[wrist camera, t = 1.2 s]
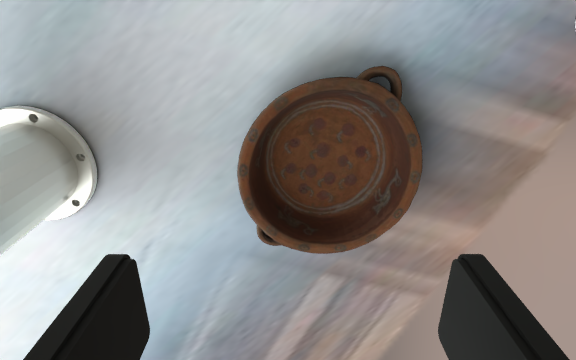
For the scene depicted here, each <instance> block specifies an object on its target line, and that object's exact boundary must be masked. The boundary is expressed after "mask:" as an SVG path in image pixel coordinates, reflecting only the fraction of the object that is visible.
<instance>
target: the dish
mask: <svg viewBox="0 0 576 360" xmlns="http://www.w3.org/2000/svg"><path fill="white" fill-rule="evenodd" d="M374 77H385V78H386V79H387V80H388V81H389V82H390V87H391V91H390V92H389V91H388V90H387V89H386V88H384V87H383V86H381V85H379V84H378V83H374V82H370V81H369V80H370V79H372V78H374ZM401 96H402V84H401V80H400V78H399V75H398V73H397V72H396V71H395V70H394V69H392V68H389V67H385V66H378V67H372V68H369V69H367V70H365V71H364V72H362V73H361V74H360V75H359V76H358V77H357V78H352V77H334V78H325V79H319V80H315V81H312V82H308V83H305V84H302V85H300V86H298V87H295V88H293V89H291V90H289V91H287V92H285V93H284V94H282V95H281V96H279V97H278V98H276V99H275V100H274V101H273V102H272V103H270V104H269V105H268V107H267V108H266V109H264V110H263V111H262V112H261V114H260V115H259V116H258V117H257V119H256V120H255V121H254V123H253V124H252V126H251V127H250V129H249V131H248V133H247V135H246V137H245V139H244V142H243V144H242V148H241V151H240V155H239V162H238V171H237V174H238V183H239V190H240V195H241V198H242V201H243V203H244V206H245V208H246V210H247V212H248V214H249V215H250V217H251V218H252V219H253V221H254V222H255V223H256V224H257V234H258V237H259V238H260V239H261V240H262V241H263V242H264V243H266V244H269V245H273V246H278V245H283V246H286V247H289V248H291V249H295V250H299V251H304V252H309V253H337V252H344V251H348V250H352V249H354V248H357V247H360V246H362V245H365V244H367V243H369V242H371V241H373V240H375V239H376V238H378V237H379V236H381V235H382V234H383V233H385V232H386V231H387V230H389V229H390V228H391V227H392V226H394V225H395V224H396V223H397V222H398V221H399V220H400V219H401V218H402V216H403V215H404V214H405V213H406V211H407V210H408V208H409V206H410V204H411V202H412V200H413V198H414V196H415V194H416V192H417V189H418V185H419V181H420V177H421V173H422V146H421V141H420V137H419V134H418V131H417V129H416V126H415V123H414V121H413V119H412V117H411V115H410V114H409V112H408V111H407V109H406V108H405V107H404V105H403V104H402V103H401V102H400V101H401Z"/></svg>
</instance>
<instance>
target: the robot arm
mask: <svg viewBox="0 0 576 360" xmlns="http://www.w3.org/2000/svg"><path fill="white" fill-rule="evenodd" d="M96 184H97V168H96V163H95V159H94V157H93V154H92V152H91V150H90V148H89V147H88V145H87V143H86V142H85V140H84V139H83V138H82V137H81V135H80V134H79V133H78V132H77V131H76V130H75V129H74V128H73V127H72V126H70V125H69V124H68V123H67V122H66V121H64V120H62V119H61V118H59V117H58V116H56V115H54V114H52V113H50V112H47V111H45V110H42V109H38V108H34V107H30V106H10V107H4V108H1V109H0V256H1V255H2V254H3V253H4V252H6V251H7V250H8V249H9V248H10V247H12V246H13V245H14V244H15V243H17V242H18V241H19V240H20V239H21V238H23V237H24V236H25V235H26V234H28V233H29V232H30V231H31V230H32V229H34V228H35V227H36V226H37V225H39V224H40V223H41V222H42V221H43V220H46V221H50V220H59V219H63V218H66V217H69V216H71V215H73V214H75V213H76V212H78V211H79V210H80V209H81V208H83V207H84V206H85V205H86V204H87V202H88V201H89V200H90V199H91V197H92V195H93V193H94V191H95V188H96ZM438 334H439V339H440V341H441V344H442V346H443V348H444V350H445V352H446V355H447V357H448V358H449V360H569V359H568V357H567V356H566V355H565V354H564V352H563V351H562V350H561V349H560V348H559V346H558V345H557V344H556V343H555V341H554V340H553V339H552V338H551V337H550V335H549V334H548V333H547V332H546V331H545V330H544V328H543V327H542V326H541V325H540V323H539V322H538V321H537V320H536V318H535V317H534V316H533V315H532V314H531V312H530V311H529V310H528V309H527V307H526V306H525V305H524V304H523V303H522V301H521V300H520V299H519V298H518V297H517V295H516V294H515V293H514V292H513V291H512V289H511V288H510V287H509V286H508V284H507V283H506V282H505V281H504V280H503V278H502V277H501V276H500V275H499V273H498V272H497V271H496V270H495V269H494V267H493V266H492V265H491V264H490V262H489V261H488V260H487V259H486V258H485V257H484V256H483V255H481V254H461V255H460V256H459V257H458V259H454V260H453V262H452V266H451V271H450V275H449V280H448V285H447V289H446V294H445V299H444V304H443V308H442V313H441V318H440V322H439V327H438ZM149 335H150V326H149V321H148V317H147V312H146V307H145V302H144V297H143V292H142V288H141V283H140V278H139V273H138V268H137V264H136V261H135V260H134V259H131V258H130V256H129V255H127V254H108V255H106V256H105V257H104V258H103V259H102V261H101V262H100V263H99V264H98V266H97V267H96V268H95V269H94V271H93V272H92V273H91V275H90V276H89V277H88V278H87V280H86V281H85V282H84V283H83V285H82V286H81V287H80V289H79V290H78V291H77V292H76V294H75V295H74V296H73V297H72V299H71V300H70V301H69V303H68V304H67V305H66V306H65V307H64V308H63V310H62V311H61V312H60V314H59V315H58V316H57V317H56V319H55V320H54V321H53V322H52V324H51V325H50V326H49V327H48V329H47V330H46V331H45V333H44V334H43V335H42V336H41V338H40V339H39V340H38V341H37V343H36V344H35V345H34V347H33V348H32V349H31V350H30V352H29V353H28V354H27V355H26V357H25V358H24V359H23V360H140V358H141V355H142V353H143V351H144V349H145V346H146V344H147V342H148V339H149Z"/></svg>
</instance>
